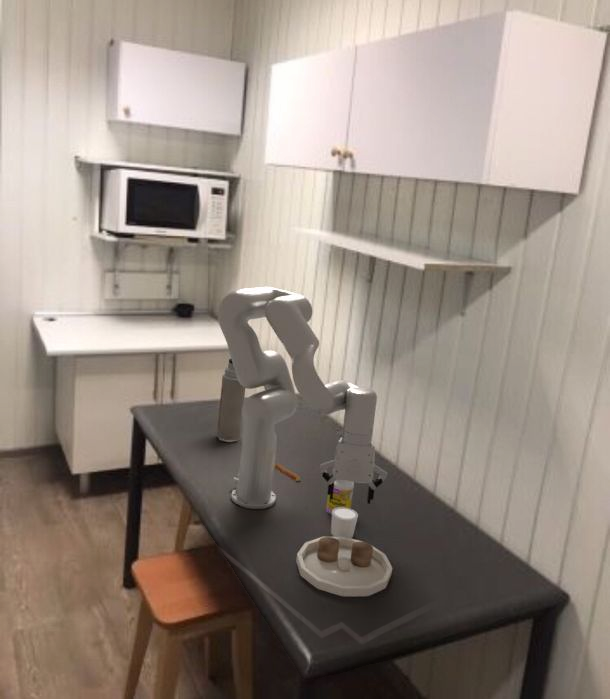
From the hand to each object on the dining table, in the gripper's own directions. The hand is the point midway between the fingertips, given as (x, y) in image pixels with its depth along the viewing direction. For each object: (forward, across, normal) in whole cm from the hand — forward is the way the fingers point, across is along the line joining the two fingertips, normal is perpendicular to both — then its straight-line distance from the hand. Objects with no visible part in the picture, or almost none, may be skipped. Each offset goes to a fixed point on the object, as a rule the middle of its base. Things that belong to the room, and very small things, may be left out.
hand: (349, 499), depth 176 cm
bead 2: (+10, +4, -12) cm, 16 cm away
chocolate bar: (+11, -19, +34) cm, 41 cm away
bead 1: (+10, -4, -12) cm, 16 cm away
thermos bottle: (+9, -41, +56) cm, 71 cm away
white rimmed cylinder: (+11, -1, 0) cm, 11 cm away
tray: (+11, 0, -16) cm, 19 cm away
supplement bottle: (+11, -2, +13) cm, 17 cm away
